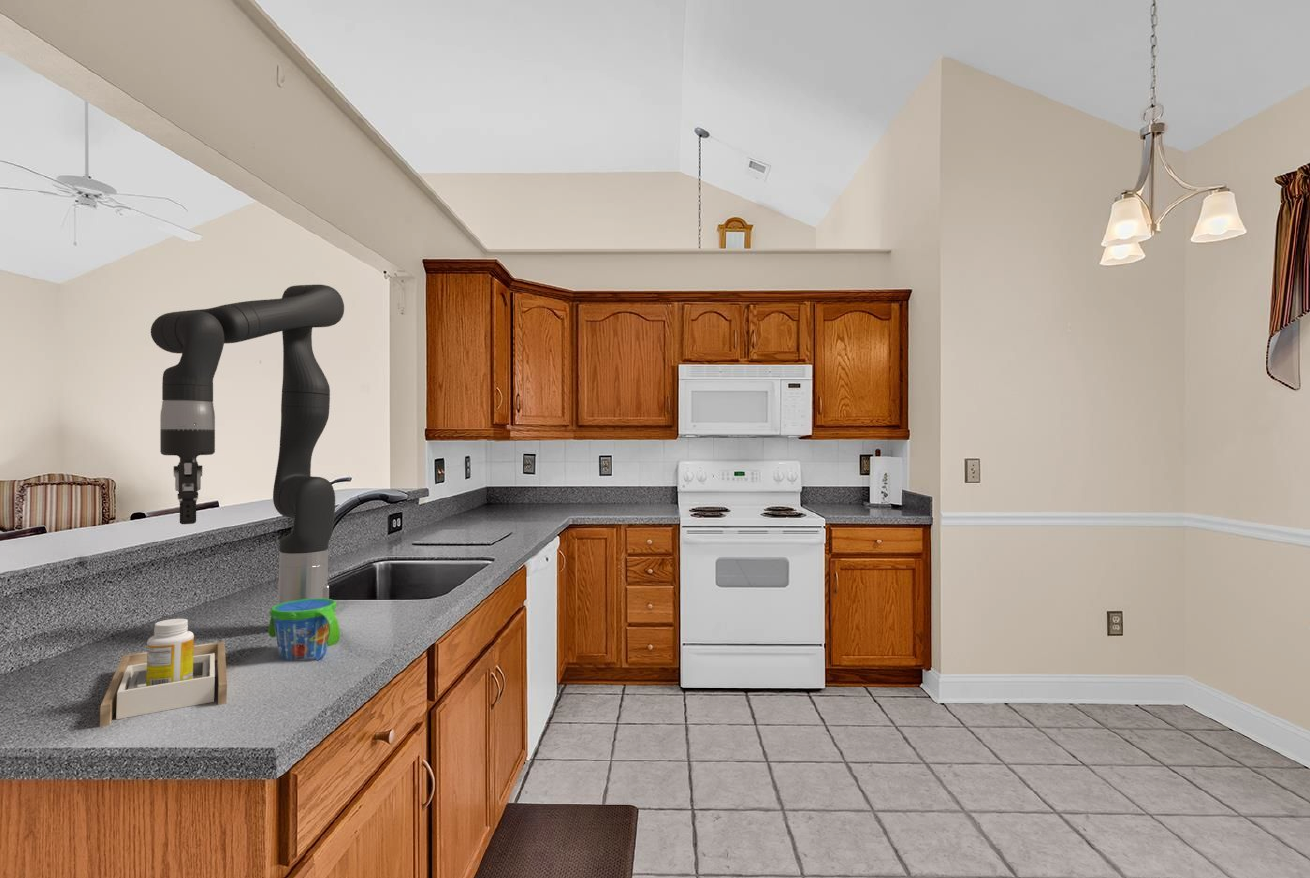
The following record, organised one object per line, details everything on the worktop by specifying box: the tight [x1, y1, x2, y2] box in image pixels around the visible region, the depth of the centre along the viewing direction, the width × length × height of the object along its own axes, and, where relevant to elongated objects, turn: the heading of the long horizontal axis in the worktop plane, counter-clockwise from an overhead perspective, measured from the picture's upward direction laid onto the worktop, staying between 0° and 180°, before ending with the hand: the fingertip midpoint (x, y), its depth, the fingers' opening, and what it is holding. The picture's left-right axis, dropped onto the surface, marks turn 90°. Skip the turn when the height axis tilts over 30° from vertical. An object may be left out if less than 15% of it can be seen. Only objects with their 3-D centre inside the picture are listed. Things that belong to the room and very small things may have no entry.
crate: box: [115, 653, 216, 720], centre depth 93 cm, size 11×13×4 cm
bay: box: [99, 640, 228, 728], centre depth 97 cm, size 14×25×4 cm, turn 36°
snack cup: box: [267, 598, 341, 661], centre depth 114 cm, size 16×10×10 cm
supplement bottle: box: [146, 618, 195, 686], centre depth 92 cm, size 6×6×10 cm
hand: (188, 521), depth 106 cm, fingers open, 8 cm apart
